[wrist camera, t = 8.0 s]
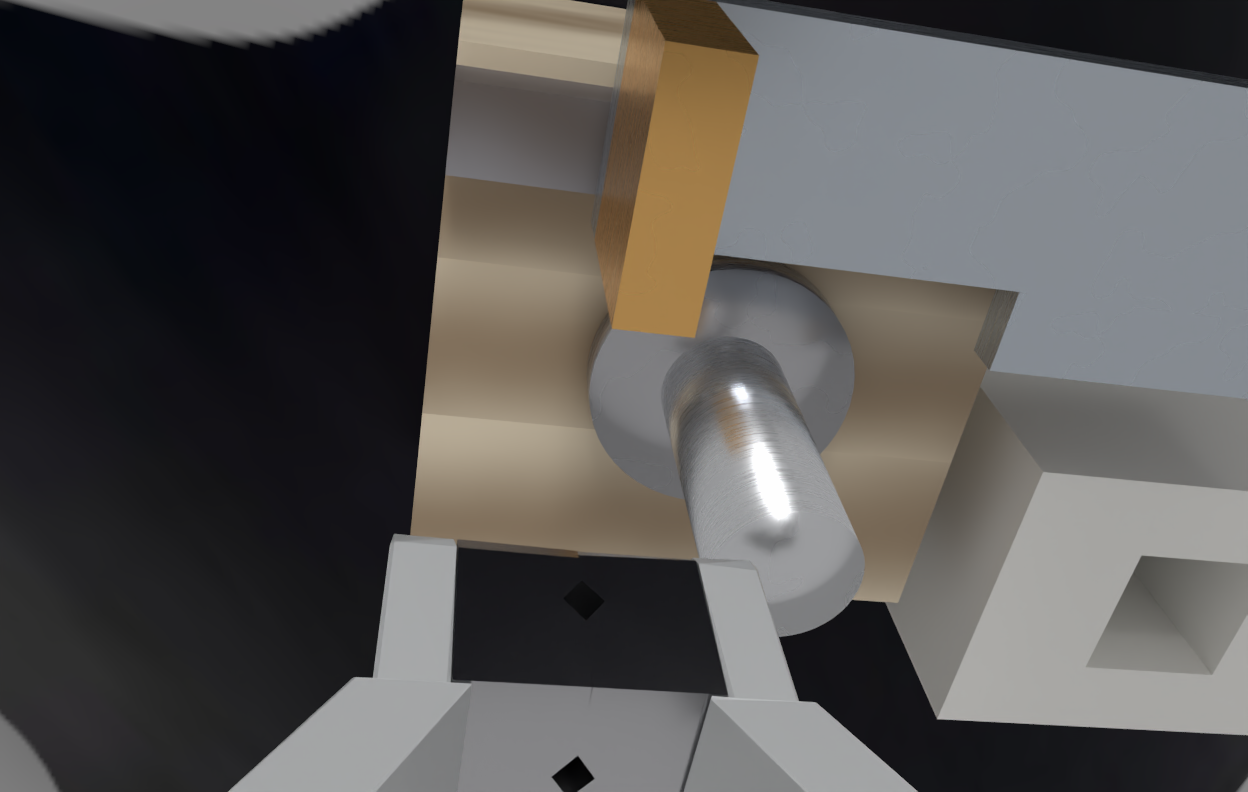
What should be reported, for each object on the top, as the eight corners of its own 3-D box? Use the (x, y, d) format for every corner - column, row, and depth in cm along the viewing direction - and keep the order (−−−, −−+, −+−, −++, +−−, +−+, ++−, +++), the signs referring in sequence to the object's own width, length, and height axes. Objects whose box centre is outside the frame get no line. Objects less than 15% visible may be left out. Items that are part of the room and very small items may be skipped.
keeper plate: (577, 305, 25) (593, 424, 21) (631, -22, 22) (665, 40, 17) (1289, 385, 28) (1432, 503, 24) (1436, 110, 25) (1634, 191, 20)
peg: (590, 148, 31) (650, 415, 19) (811, 179, 32) (1000, 449, 20) (556, 352, 34) (590, 691, 22) (760, 373, 35) (897, 708, 23)
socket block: (465, -17, 28) (457, 54, 22) (979, 65, 31) (1100, 150, 25) (420, 446, 35) (403, 598, 29) (843, 483, 38) (911, 631, 32)
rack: (950, 345, 35) (1043, 472, 29) (1286, 383, 37) (1437, 508, 31) (870, 569, 40) (937, 719, 34) (1175, 592, 42) (1289, 737, 36)
